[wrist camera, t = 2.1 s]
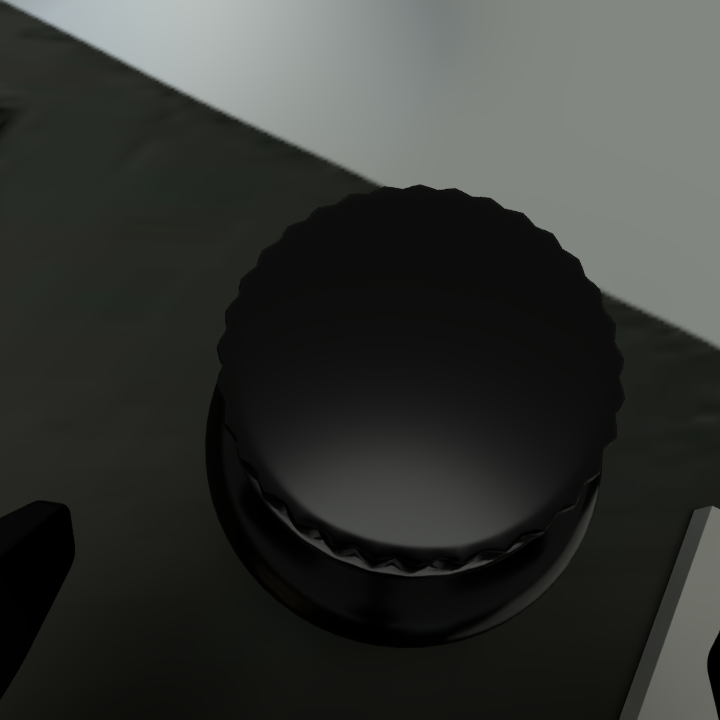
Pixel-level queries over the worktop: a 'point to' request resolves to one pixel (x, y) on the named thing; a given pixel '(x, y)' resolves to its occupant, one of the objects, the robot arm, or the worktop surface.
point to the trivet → (682, 633)
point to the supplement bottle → (412, 415)
